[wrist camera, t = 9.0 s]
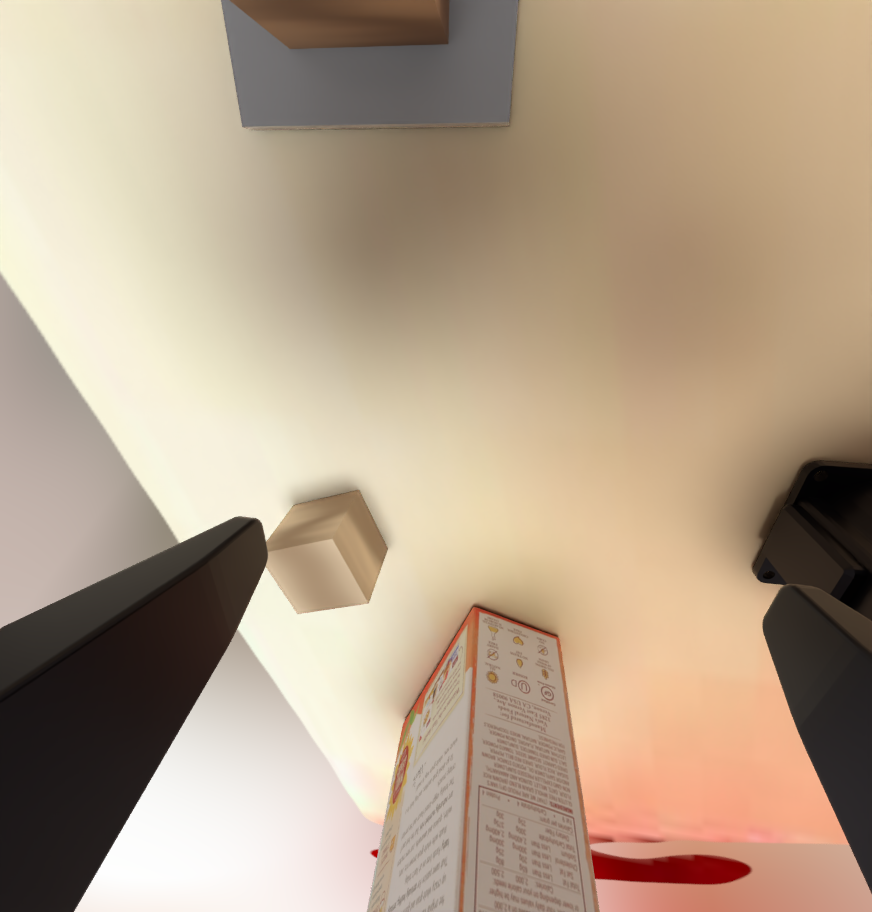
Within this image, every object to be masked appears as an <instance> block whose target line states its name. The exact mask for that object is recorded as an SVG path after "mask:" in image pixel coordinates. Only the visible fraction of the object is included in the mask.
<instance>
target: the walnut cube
mask: <svg viewBox="0 0 872 912" xmlns="http://www.w3.org/2000/svg"><path fill="white" fill-rule="evenodd" d="M229 1H231V2H232V3H233V4H234V5H236V6H237V7H238V8H239V9H241V10H242V11H243V12H244V13H246V14H247V15H248V16H249V17H251V18H252V19H253V20H254V21H256V22H257V23H258V24H259V25H261V26H262V27H263V28H264V29H266V30H267V31H268V32H269V33H271V34H272V35H273V36H274V37H276V38H277V39H278V40H279V41H281V42H282V43H283V44H284V45H285V46H287V47H288V48H289V49H309V48H341V47H374V46H407V45H439V44H448V43H449V0H229Z"/></svg>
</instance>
